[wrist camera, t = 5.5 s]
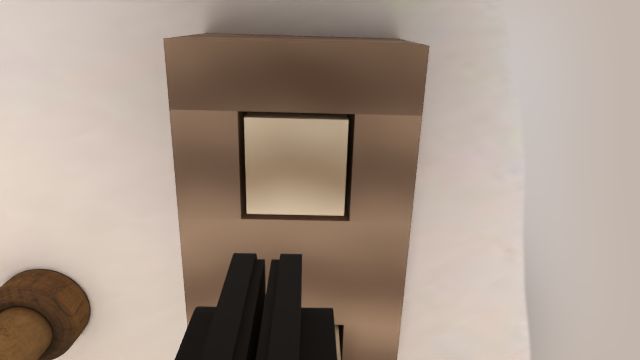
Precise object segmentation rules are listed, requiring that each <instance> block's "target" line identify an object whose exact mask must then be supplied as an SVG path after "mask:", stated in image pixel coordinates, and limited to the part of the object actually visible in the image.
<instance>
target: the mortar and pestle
mask: <svg viewBox="0 0 640 360" xmlns="http://www.w3.org/2000/svg"><path fill="white" fill-rule="evenodd" d="M89 316H90V308H89V303H88V300H87V298H86V296H85V294H84V293H83V291H82V290H81V288H80V287H79V286H78V285H77V284H76V283H74V282H73V281H72V280H71V279H69V278H68V277H66V276H64V275H62V274H60V273H57V272H54V271H49V270H29V271H25V272H22V273H20V274H17V275H16V276H14V277H12V278H11V279H10V280H8V281H7V282H6V283H5V284H4V285H3V286H1V287H0V360H52V359H55V358H57V357H59V356H61V355H62V354H64V353H65V352H66V351H67V350H68V349H69V348H70V347H71V346H72V345H73V343H74V342H75V341H76V339H77V338H78V337H79V336H80V334H81V333H82V332H83V330H84V329H85V327H86V325H87V323H88V321H89Z"/></svg>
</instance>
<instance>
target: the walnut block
mask: <svg viewBox="0 0 640 360" xmlns="http://www.w3.org/2000/svg"><path fill="white" fill-rule="evenodd" d="M164 50H165V62H166V74H167V86H168V98H169V110H170V122H171V134H172V146H173V158H174V170H175V182H176V194H177V206H178V218H179V230H180V242H181V254H182V266H183V278H184V290H185V302H186V314H187V326H188V324H189V322H190V319H191V317H192V314H193V312H194V310H195V308H196V307H197V306H210V307H217V304H218V300H219V297H220V294H221V291H222V288H223V285H224V281H225V278H226V275H227V272H228V269H229V266H230V262H231V259H232V256H233V254H234V253H256V254H257V259H265V279H266V291H267V284H268V278H269V272H270V265H271V260H272V259H280V254H302V304H301V307H303V308H333V311H334V323H335V325H338V329H339V342H340V355H341V360H397V355H398V345H399V335H400V326H401V316H402V306H403V296H404V287H405V277H406V267H407V258H408V248H409V238H410V228H411V219H412V209H413V199H414V190H415V180H416V170H417V160H418V151H419V141H420V131H421V122H422V112H423V102H424V92H425V83H426V73H427V63H428V54H429V46H427V45H422V44H418V43H414V42H410V41H405V40H401V39H385V38H349V37H314V36H278V35H243V34H207V33H204V34H196V35H188V36H180V37H173V38H165V39H164ZM248 111H250V112H291V113H331V114H347V117H348V120H349V123H348V144H347V164H346V185H345V205H344V216H333V215H284V214H247V205H246V170H245V135H244V117H245V115H246V114H247V113H248Z"/></svg>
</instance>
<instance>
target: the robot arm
mask: <svg viewBox="0 0 640 360" xmlns="http://www.w3.org/2000/svg"><path fill="white" fill-rule="evenodd" d="M301 304H302V254H280V259H272V260H271V265H270V272H269V278H268V284H267V291H266V279H265V259H257V254H256V253H234V254H233V256H232V259H231V262H230V266H229V269H228V272H227V275H226V278H225V281H224V285H223V288H222V291H221V294H220V297H219V300H218V304H217V307H210V306H197V307H196V308H195V310H194V312H193V314H192V317H191V319H190V322H189V324H188V327H187V330H186V332H185V335H184V337H183V340H182V343H181V345H180V348H179V350H178V353H177V355H176V358H175V360H337V349H336V336H335V323H334V311H333V308H303V307H301Z"/></svg>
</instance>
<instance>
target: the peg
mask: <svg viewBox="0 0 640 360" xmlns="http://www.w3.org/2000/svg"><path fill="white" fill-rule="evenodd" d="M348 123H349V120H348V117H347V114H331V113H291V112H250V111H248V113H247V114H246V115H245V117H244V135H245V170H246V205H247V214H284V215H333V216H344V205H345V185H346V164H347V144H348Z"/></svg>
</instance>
